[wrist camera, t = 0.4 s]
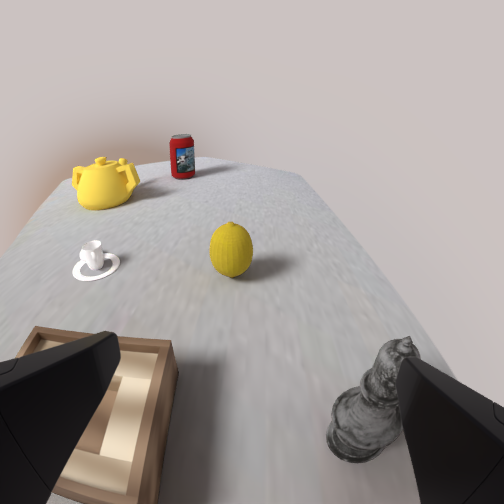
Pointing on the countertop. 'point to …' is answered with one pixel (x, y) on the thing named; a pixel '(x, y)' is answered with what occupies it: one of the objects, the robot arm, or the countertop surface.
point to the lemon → (231, 249)
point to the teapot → (104, 183)
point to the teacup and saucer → (94, 261)
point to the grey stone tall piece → (370, 407)
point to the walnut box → (120, 423)
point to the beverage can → (182, 156)
